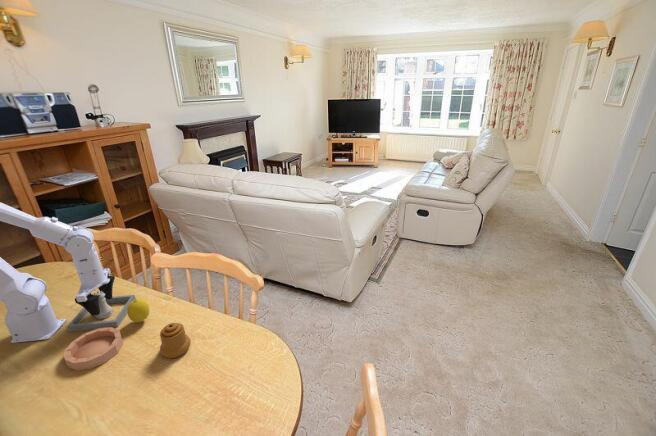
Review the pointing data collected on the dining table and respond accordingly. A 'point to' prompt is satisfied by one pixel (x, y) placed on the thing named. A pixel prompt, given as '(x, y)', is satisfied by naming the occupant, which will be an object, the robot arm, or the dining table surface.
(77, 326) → the grey square frame
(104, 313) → the rook chess piece
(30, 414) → the dining table surface
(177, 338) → the ornamental finial
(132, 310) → the lemon
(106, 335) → the bowl
